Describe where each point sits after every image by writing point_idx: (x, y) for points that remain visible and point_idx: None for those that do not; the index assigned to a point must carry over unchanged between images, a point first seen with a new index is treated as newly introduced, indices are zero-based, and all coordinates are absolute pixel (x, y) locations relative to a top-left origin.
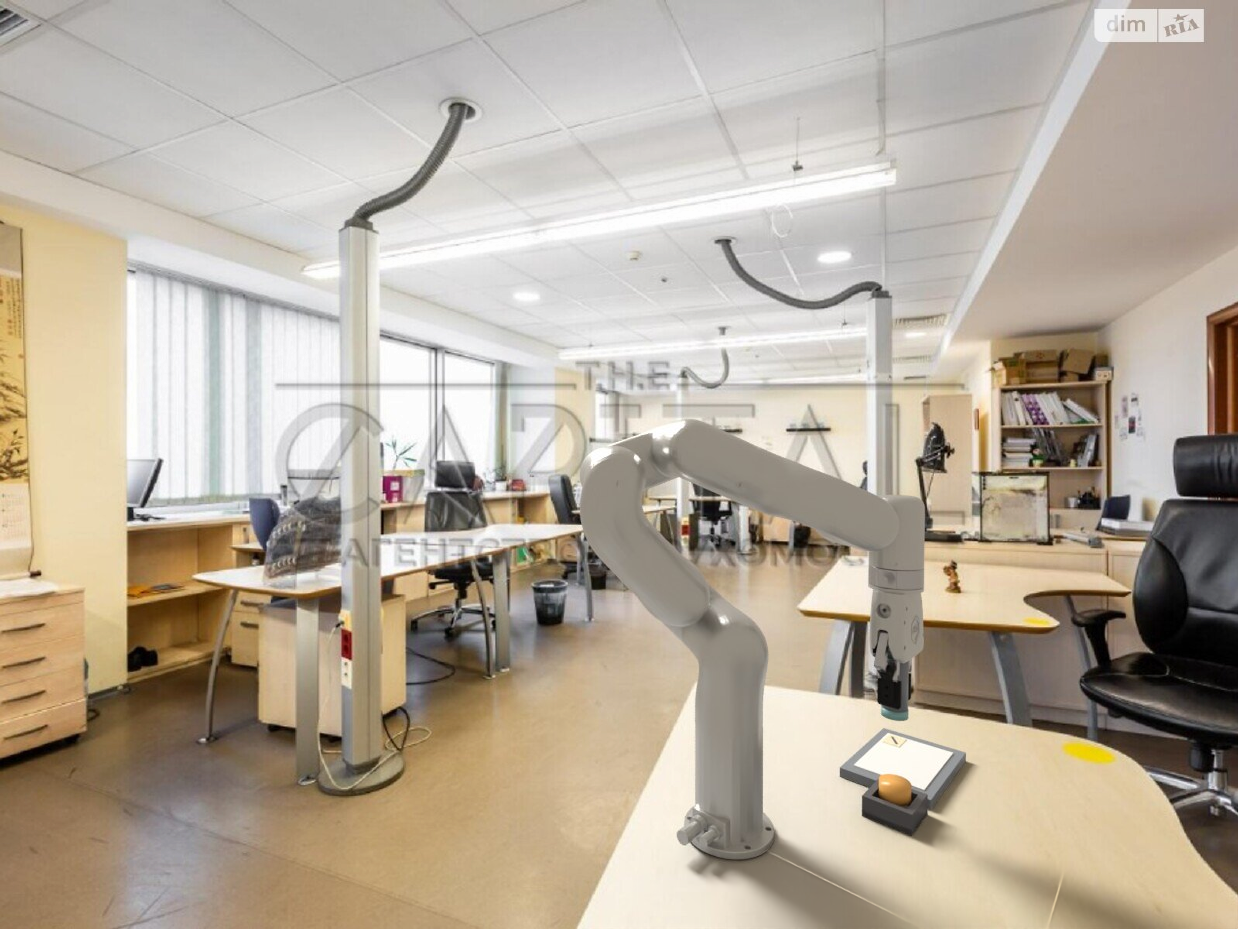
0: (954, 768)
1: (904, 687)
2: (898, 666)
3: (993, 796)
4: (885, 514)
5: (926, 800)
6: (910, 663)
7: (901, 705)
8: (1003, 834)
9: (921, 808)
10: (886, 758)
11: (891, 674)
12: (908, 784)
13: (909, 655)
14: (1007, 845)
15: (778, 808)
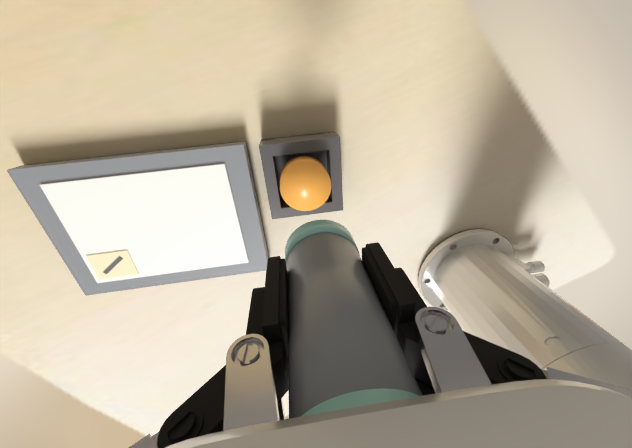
0: (94, 160)
1: (356, 284)
2: (460, 375)
3: (94, 81)
4: None
5: (265, 143)
6: (246, 376)
7: (351, 249)
8: (206, 23)
9: (291, 140)
10: (183, 244)
11: (478, 348)
12: (296, 168)
13: (536, 433)
14: (235, 6)
15: None
